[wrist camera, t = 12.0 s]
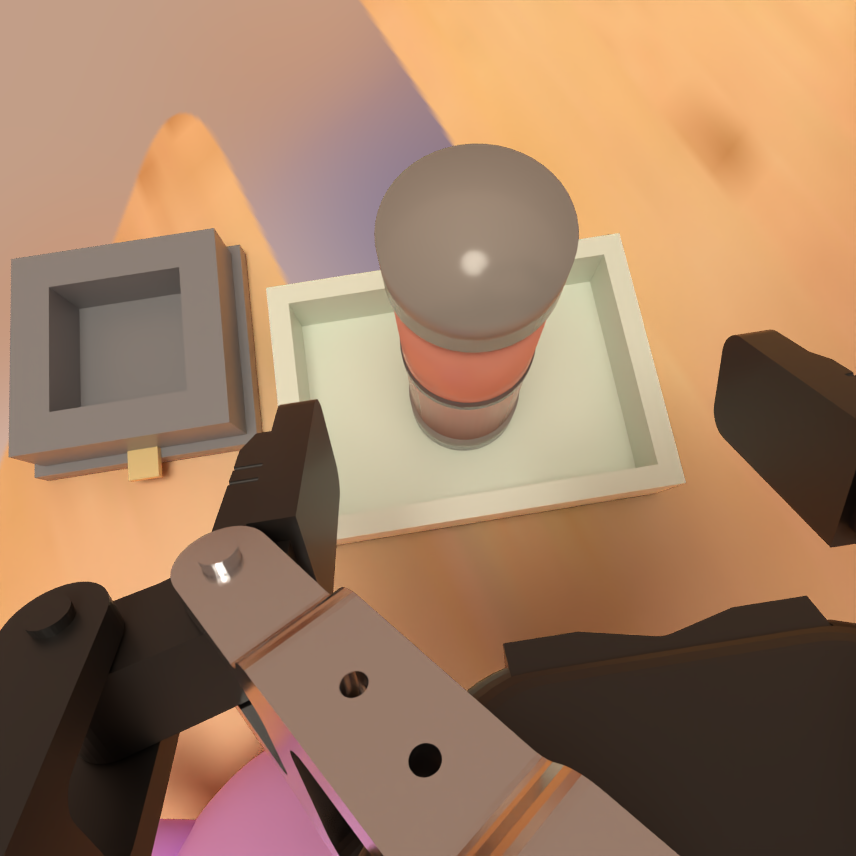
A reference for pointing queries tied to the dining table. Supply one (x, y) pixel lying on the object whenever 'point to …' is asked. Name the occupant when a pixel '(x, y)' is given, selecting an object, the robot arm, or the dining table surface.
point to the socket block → (131, 356)
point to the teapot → (245, 820)
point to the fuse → (472, 281)
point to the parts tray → (529, 427)
